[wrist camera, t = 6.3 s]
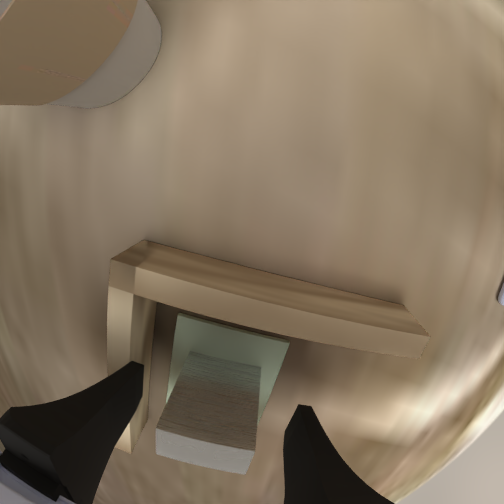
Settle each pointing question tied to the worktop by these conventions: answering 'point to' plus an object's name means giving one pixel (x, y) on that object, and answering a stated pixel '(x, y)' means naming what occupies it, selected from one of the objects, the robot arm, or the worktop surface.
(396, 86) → the worktop surface
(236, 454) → the block
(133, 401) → the robot arm
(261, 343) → the wooden corner frame
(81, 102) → the coffee cup
